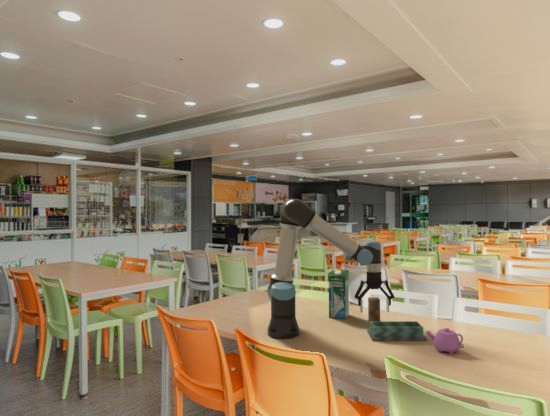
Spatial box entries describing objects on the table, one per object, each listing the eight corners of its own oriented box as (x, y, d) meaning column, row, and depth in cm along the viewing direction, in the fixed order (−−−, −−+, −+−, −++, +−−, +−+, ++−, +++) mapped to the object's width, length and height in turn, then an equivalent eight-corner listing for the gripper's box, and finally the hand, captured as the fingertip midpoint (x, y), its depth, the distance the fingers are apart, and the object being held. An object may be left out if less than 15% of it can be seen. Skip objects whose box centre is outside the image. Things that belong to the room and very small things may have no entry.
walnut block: (370, 322, 210) (370, 299, 210) (368, 320, 215) (368, 297, 215) (380, 322, 210) (379, 299, 210) (377, 320, 215) (377, 297, 215)
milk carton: (328, 317, 221) (328, 271, 221) (332, 313, 229) (332, 268, 229) (345, 319, 217) (345, 272, 217) (348, 314, 226) (348, 269, 226)
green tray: (372, 340, 183) (372, 328, 183) (367, 332, 195) (367, 320, 195) (426, 340, 182) (426, 328, 182) (418, 332, 194) (418, 320, 194)
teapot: (462, 357, 162) (461, 334, 162) (422, 350, 171) (422, 328, 170) (465, 349, 171) (465, 327, 171) (428, 343, 179) (428, 322, 179)
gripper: (350, 272, 209) (351, 314, 209) (400, 271, 208) (400, 313, 209) (348, 270, 217) (349, 310, 217) (396, 269, 216) (396, 309, 216)
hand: (374, 311), depth 213 cm, fingers open, 13 cm apart
